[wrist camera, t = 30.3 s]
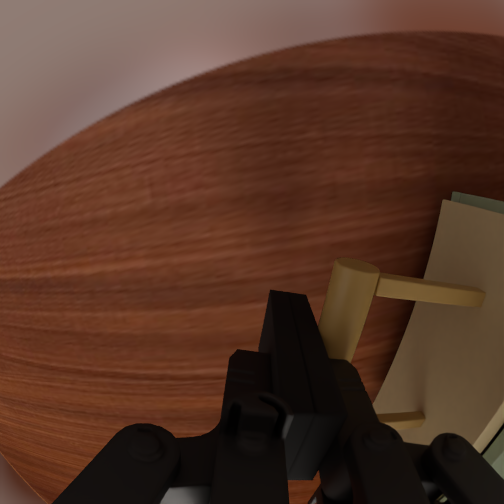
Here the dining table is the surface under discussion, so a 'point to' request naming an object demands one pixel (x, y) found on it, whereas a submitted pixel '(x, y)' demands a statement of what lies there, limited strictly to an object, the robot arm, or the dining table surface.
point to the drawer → (435, 331)
